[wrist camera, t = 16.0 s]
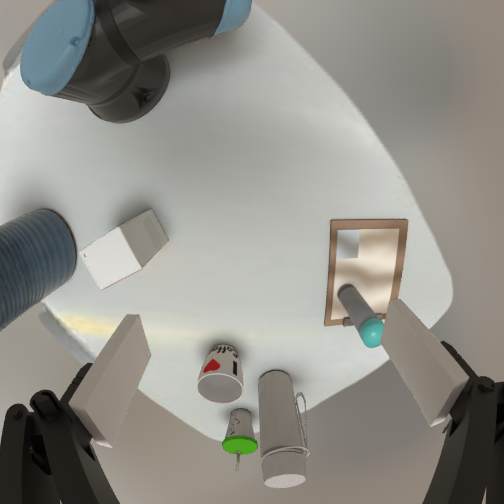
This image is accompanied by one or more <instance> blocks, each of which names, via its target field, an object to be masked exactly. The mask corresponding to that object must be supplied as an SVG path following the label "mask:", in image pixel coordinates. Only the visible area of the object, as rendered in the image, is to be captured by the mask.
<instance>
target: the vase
mask: <svg viewBox="0 0 504 504" xmlns="http://www.w3.org/2000/svg"><path fill="white" fill-rule="evenodd" d="M75 258H76V256H75V247H74V243H73V239H72V236H71V234H70V232H69V230H68V228H67V226H66V224H65V223H64V222H63V220H62V219H61V218H60V217H59V216H58V215H56V214H55V213H53V212H52V211H49V210H45V209H40V210H36V211H33V212H31V213H28V214H26V215H23V216H21V217H18V218H16V219H14V220H11V221H9V222H7V223H5V224H3V225H1V226H0V331H2V329H4V328H5V327H6V326H8V325H9V324H10V323H11V322H13V321H14V320H15V319H16V318H18V317H19V316H21V315H22V314H23V313H24V312H26V311H27V310H28V309H29V308H31V307H32V306H33V305H35V304H37V303H38V302H40V301H41V300H42V299H44V298H45V297H46V296H48V295H49V294H51V293H52V292H53V291H55V290H56V289H58V288H59V287H61V286H62V285H63V284H65V283H66V282H67V281H68V280H69V279H70V277H71V276H72V274H73V271H74V267H75Z"/></svg>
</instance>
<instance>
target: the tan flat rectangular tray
mask: <svg viewBox="0 0 504 504" xmlns="http://www.w3.org/2000/svg"><path fill="white" fill-rule="evenodd" d="M407 230H408V220H407V219H364V220H331V225H330V252H329V271H328V286H327V299H326V311H325V321H324V325H325V326H333V325H342V324H343V326H352V325H354V324H353V322H352V320H351V319H350V317H349V315H348V314H347V312H346V310H345V309H344V307H343V305H342V304H341V302H340V300H339V299H338V297H337V292H338V289H339V288H340V287H341V286H342V285H344V284H352V285H354V287H355V288H356V289H357V290H358V292H359V293H360V294H361V296H362V297H363V298H364V299H365V301H366V302H367V303H368V305H369V306H370V307H371V309H372V310H373V311H374V313H375V314H376V315H377V317H378V318H379V319H380V320H382V319H385V318H386V313H387V308H388V303H389V301H391V300H397V299H398V294H399V289H400V283H401V277H402V270H403V264H404V256H405V248H406V240H407Z"/></svg>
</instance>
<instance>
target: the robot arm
mask: <svg viewBox="0 0 504 504" xmlns="http://www.w3.org/2000/svg"><path fill="white" fill-rule="evenodd" d="M251 4H252V0H60V1H58V2H57V3H55V4H54V5H53V6H52V7H50V8H49V9H48V10H47V11H46V12H45V13H44V14H43V15H42V17H41V18H40V19H39V20H38V22H37V23H36V24H35V26H34V28H33V29H32V31H31V32H30V35H29V37H28V39H27V41H26V43H25V46H24V48H23V52H22V56H21V63H20V71H21V77H22V79H23V82H24V83H25V85H26V86H27V87H29V88H30V89H32V90H35V91H38V92H41V93H42V94H44V95H46V96H54V97H58V98H63V99H67V100H72V101H76V102H80V103H84V104H86V105H87V106H88V107H89V109H90V110H91V111H92V113H93V114H94V115H96V116H97V117H98V118H100V119H102V120H105V121H108V122H113V123H126V122H131V121H134V120H136V119H138V118H140V117H142V116H143V115H145V114H146V113H148V112H149V111H150V110H151V109H152V108H153V107H154V106H155V105H156V104H157V103H158V102H159V100H160V99H161V98H162V96H163V94H164V92H165V90H166V88H167V85H168V82H169V75H170V70H169V64H168V61H167V59H166V57H165V55H164V54H163V53H166V52H168V51H171V50H173V49H176V48H178V47H181V46H184V45H186V44H189V43H192V42H195V41H198V40H201V39H204V38H213V37H215V36H216V35H218V34H220V33H223V32H227V31H230V30H233V29H236V28H238V27H240V26H242V25H243V23H244V22H246V20H247V19H248V17H249V14H250V10H251ZM380 343H381V344H382V346H383V347H384V349H385V351H386V352H387V354H388V355H389V357H390V359H391V360H392V362H393V363H394V365H395V367H396V368H397V370H398V372H399V373H400V375H401V377H402V378H403V380H404V381H405V383H406V385H407V387H408V388H409V390H410V392H411V393H412V395H413V397H414V398H415V400H416V402H417V404H418V406H419V407H420V409H421V411H422V413H423V415H424V416H425V418H426V420H427V422H428V423H429V425H430V427H431V426H434V425H436V424H438V423H441V422H443V421H444V420H445V418H446V417H447V415H448V414H449V413H450V415H451V417H452V418H451V420H450V421H449V423H448V424H447V426H446V427H445V428H444V430H443V432H442V433H445V431H446V430H447V429H448V430H447V434H446V438H445V441H444V445H443V448H442V452H441V455H440V458H439V462H438V465H437V468H436V471H435V473H434V476H433V479H432V482H431V484H430V487H429V490H428V492H427V494H426V497H425V499H424V501H423V503H422V504H482V500H483V497H484V493H485V489H486V504H504V382H497V383H495V382H494V381H493V380H492V379H490V378H488V377H485V376H480V377H478V376H477V375H476V374H475V372H474V371H473V370H472V369H471V368H470V366H469V365H468V364H467V363H466V362H465V360H464V359H462V357H461V356H460V355H459V354H457V351H456V350H455V349H454V348H453V347H452V346H451V345H449V344H448V343H446V342H445V341H442V342H439V341H438V340H437V338H436V337H435V336H434V335H433V334H432V333H431V332H430V330H429V329H428V328H427V327H426V326H425V325H424V324H423V323H422V322H421V320H420V319H419V318H418V317H417V316H416V315H415V314H414V313H413V312H412V311H411V310H410V309H409V308H408V307H407V305H406V304H405V303H404V302H403V301H402V300H401V299H398V300H391V301H389V303H388V308H387V313H386V318H385V323H384V327H383V332H382V336H381V340H380ZM150 357H151V353H150V350H149V346H148V343H147V340H146V336H145V333H144V330H143V326H142V323H141V319H140V315H132V314H127V315H126V316H125V318H124V319H123V320H122V322H121V323H120V325H119V326H118V328H117V329H116V330H115V332H114V333H113V335H112V336H111V338H110V339H109V341H108V342H107V344H106V345H105V346H104V348H103V349H102V351H101V352H100V354H99V355H98V357H97V358H96V360H95V362H94V363H87V364H86V365H85V366H83V367H82V368H81V369H80V370H79V372H78V373H77V375H76V378H74V379H73V381H72V384H70V386H69V387H68V389H67V390H66V392H65V393H64V395H63V396H62V398H61V400H60V401H59V400H58V399H57V397H56V395H55V394H54V393H53V392H52V391H50V390H41V391H39V392H37V393H35V394H34V395H33V396H32V398H31V400H30V406H31V407H32V409H33V410H34V412H29V411H28V409H27V408H26V407H25V406H24V405H23V404H14V405H12V406H11V407H10V408H9V409H8V410H7V413H6V416H5V421H4V427H3V431H2V437H1V444H0V504H60V500H61V503H62V504H120V503H119V501H118V499H117V498H116V496H115V494H114V492H113V490H112V488H111V486H110V484H109V482H108V480H107V478H106V476H105V474H104V472H103V470H102V468H101V465H100V463H99V461H98V459H97V456H96V454H95V451H94V449H93V447H92V445H91V444H90V441H91V438H92V437H93V438H94V440H95V441H96V442H97V444H99V445H103V446H107V447H110V448H113V447H114V444H115V441H116V439H117V436H118V434H119V431H120V428H121V426H122V423H123V421H124V418H125V416H126V413H127V411H128V409H129V406H130V404H131V401H132V399H133V396H134V394H135V392H136V389H137V387H138V385H139V382H140V380H141V378H142V375H143V373H144V371H145V368H146V366H147V364H148V362H149V359H150Z"/></svg>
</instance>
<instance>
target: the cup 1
mask: <svg viewBox="0 0 504 504" xmlns="http://www.w3.org/2000/svg"><path fill="white" fill-rule="evenodd" d="M196 388H197V391H198V393H199V394H200V396H202V397H203V398H204V399H206V400H208V401H210V402H213V403H217V404H228V403H233V402H235V401H237V400H239V399H240V398H241V397H242V395H243V392H244V388H243V373H242V368H241V363H240V359H239V357H238V355H237V353H236V351H235V349H234V348H233V347H231V346H229V345H218V346H216V347H214V348H213V349H212V351H211V352H210V353H209V354H208V356H207V358H206V360H205V362H204V364H203V366H202V368H201V371H200V375H199V378H198V381H197V385H196Z"/></svg>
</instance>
